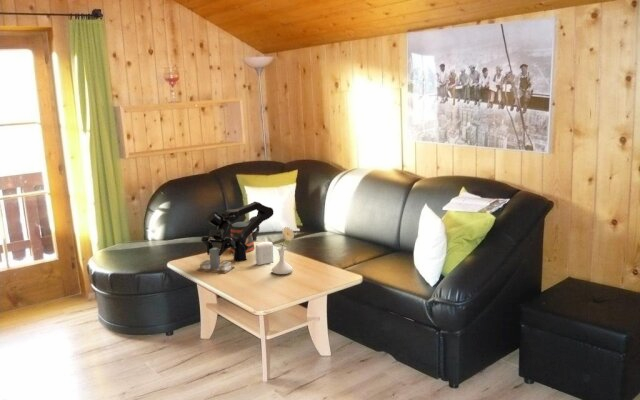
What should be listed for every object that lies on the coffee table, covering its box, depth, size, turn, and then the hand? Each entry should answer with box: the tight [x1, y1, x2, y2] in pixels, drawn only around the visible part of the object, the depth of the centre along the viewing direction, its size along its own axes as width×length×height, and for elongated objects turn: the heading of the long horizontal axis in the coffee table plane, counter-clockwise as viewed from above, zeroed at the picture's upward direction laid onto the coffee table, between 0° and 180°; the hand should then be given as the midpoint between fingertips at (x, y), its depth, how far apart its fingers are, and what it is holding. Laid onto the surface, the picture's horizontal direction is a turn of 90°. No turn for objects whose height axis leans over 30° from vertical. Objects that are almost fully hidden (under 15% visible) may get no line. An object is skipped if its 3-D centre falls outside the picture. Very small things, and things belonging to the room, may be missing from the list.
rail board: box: [196, 259, 235, 275], centre depth 328 cm, size 18×10×4 cm, turn 70°
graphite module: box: [209, 246, 221, 269], centre depth 327 cm, size 4×4×11 cm
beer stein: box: [229, 215, 260, 253], centre depth 364 cm, size 19×15×20 cm
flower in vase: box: [271, 226, 295, 275], centre depth 318 cm, size 13×11×25 cm
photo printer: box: [255, 241, 274, 266], centre depth 336 cm, size 10×4×12 cm, turn 123°
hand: (213, 255), depth 325 cm, fingers open, 7 cm apart
